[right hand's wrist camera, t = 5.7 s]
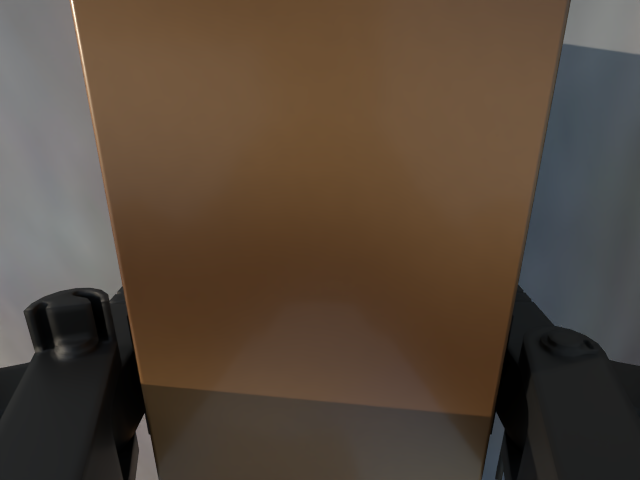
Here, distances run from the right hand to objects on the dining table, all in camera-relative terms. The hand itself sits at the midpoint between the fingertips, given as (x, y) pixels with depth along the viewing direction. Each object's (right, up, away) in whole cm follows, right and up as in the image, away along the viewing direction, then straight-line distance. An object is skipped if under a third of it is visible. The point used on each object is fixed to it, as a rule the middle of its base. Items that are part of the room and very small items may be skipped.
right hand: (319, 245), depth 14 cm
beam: (0, -15, +7) cm, 17 cm away
